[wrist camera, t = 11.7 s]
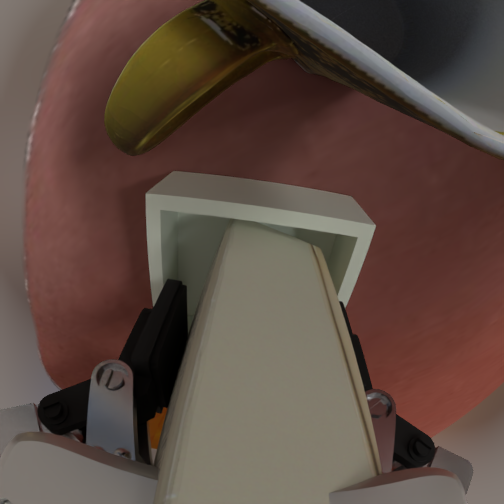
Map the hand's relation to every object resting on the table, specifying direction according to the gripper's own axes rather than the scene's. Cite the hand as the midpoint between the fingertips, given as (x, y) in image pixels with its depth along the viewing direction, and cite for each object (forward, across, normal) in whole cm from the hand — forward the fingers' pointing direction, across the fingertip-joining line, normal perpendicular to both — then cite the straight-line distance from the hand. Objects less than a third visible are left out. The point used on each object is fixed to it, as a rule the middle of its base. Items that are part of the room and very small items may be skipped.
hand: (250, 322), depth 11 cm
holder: (+5, 0, 0) cm, 5 cm away
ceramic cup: (+5, -1, -12) cm, 13 cm away
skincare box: (+3, 0, 0) cm, 3 cm away
